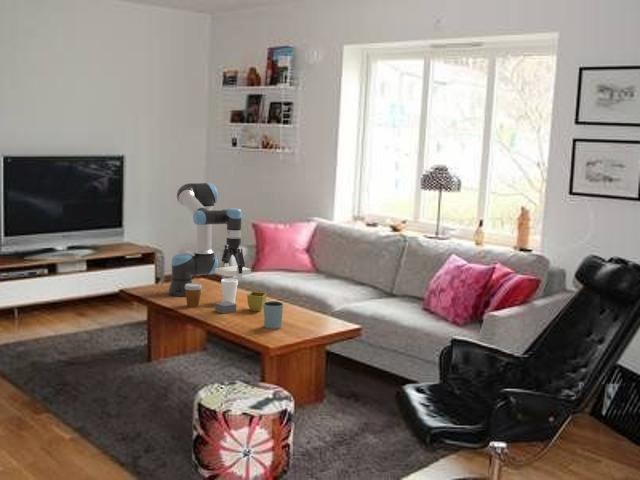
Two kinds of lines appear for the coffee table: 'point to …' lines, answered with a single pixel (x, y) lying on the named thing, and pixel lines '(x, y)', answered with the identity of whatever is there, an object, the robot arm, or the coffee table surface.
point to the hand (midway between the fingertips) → (232, 277)
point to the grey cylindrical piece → (273, 314)
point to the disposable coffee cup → (193, 294)
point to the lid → (231, 271)
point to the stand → (225, 307)
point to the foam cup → (229, 289)
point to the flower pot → (256, 300)
